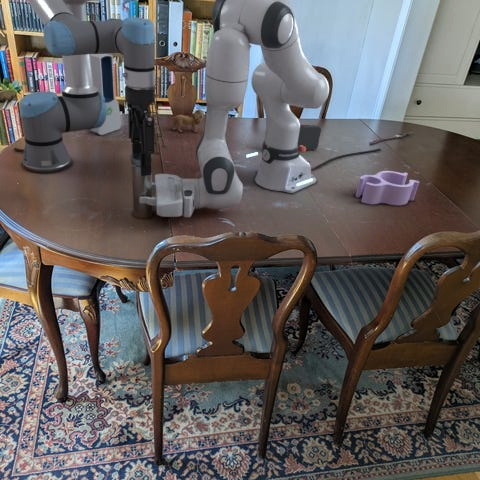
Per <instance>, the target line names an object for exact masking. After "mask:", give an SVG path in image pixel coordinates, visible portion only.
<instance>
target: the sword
mask: <svg viewBox="0 0 480 480" xmlns="http://www.w3.org/2000/svg"><path fill="white" fill-rule="evenodd" d="M402 134H403V133H398V134H396V135H393V136H392V135H391V136H388V137H383V138H379V139H376V140H373V141H370V145H374V144H377V143H380V142H383V141H387V140H391V139H397V138H404V137H405V136H411V135H413V134H408V135H402Z"/></svg>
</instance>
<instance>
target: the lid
mask: <svg viewBox="0 0 480 480" xmlns="http://www.w3.org/2000/svg"><path fill="white" fill-rule="evenodd" d="M130 163H131V165H132V164H134V165H138V166H141V159H140V154H139V152H137V153H133V154H131V155H130ZM151 163H153V154H151Z"/></svg>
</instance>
